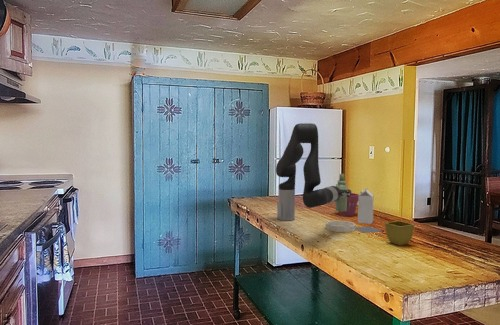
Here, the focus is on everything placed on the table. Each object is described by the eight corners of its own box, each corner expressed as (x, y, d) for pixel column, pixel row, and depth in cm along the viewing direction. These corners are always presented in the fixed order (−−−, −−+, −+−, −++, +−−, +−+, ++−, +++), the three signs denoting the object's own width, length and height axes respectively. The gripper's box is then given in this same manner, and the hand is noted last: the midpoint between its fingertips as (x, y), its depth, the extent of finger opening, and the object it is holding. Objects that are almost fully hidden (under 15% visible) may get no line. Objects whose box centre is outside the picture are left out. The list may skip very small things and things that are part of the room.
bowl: (334, 233, 182) (334, 227, 182) (321, 227, 196) (321, 221, 196) (361, 231, 186) (361, 225, 186) (346, 225, 200) (346, 219, 200)
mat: (363, 233, 183) (363, 232, 183) (351, 228, 193) (351, 227, 193) (383, 232, 186) (383, 231, 186) (370, 227, 196) (370, 226, 196)
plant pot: (356, 212, 235) (357, 192, 234) (361, 217, 221) (361, 195, 220) (333, 212, 236) (333, 192, 236) (336, 216, 222) (336, 195, 222)
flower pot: (399, 247, 159) (400, 226, 159) (383, 242, 167) (384, 222, 167) (414, 244, 163) (414, 224, 163) (397, 240, 171) (398, 220, 171)
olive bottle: (338, 211, 187) (339, 174, 186) (333, 209, 192) (334, 173, 192) (348, 211, 188) (349, 174, 188) (343, 209, 194) (344, 173, 193)
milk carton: (372, 222, 209) (373, 187, 208) (371, 224, 202) (372, 189, 201) (359, 220, 212) (360, 187, 211) (357, 223, 205) (358, 188, 204)
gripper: (344, 187, 174) (357, 184, 188) (316, 185, 182) (330, 182, 196) (344, 203, 174) (357, 199, 188) (315, 200, 183) (329, 197, 196)
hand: (343, 191), depth 192 cm, fingers closed on olive bottle, 5 cm apart
